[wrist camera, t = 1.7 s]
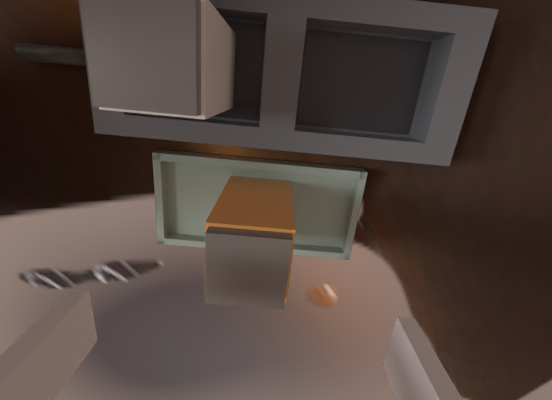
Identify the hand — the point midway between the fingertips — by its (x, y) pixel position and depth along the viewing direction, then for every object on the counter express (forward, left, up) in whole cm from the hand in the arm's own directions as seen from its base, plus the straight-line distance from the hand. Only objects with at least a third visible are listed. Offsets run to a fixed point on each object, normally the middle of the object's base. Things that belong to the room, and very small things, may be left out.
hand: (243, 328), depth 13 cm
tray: (0, 0, -14) cm, 14 cm away
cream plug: (-5, +11, -14) cm, 18 cm away
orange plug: (0, 0, -14) cm, 14 cm away
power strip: (-2, +11, -14) cm, 18 cm away
